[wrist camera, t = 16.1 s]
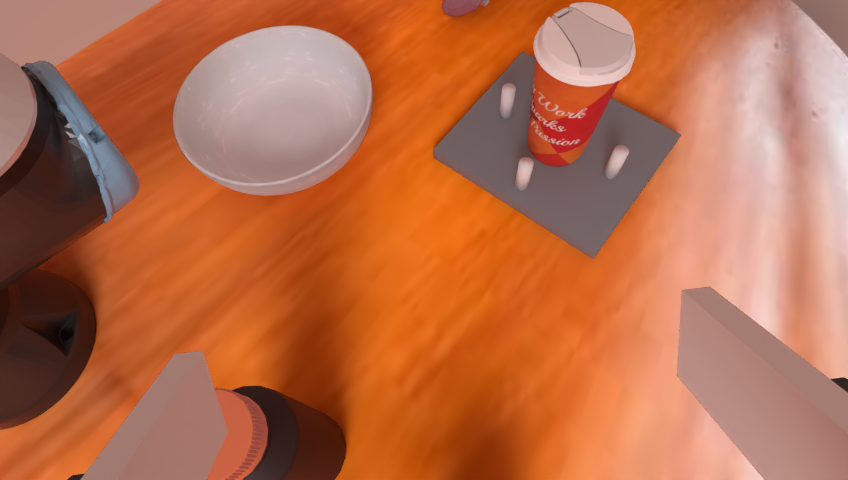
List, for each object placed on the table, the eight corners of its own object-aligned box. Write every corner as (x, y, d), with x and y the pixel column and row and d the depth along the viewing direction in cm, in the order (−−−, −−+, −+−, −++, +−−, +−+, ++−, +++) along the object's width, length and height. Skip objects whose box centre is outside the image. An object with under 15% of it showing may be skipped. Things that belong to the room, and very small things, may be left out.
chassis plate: (433, 157, 57) (431, 126, 52) (521, 60, 62) (526, 24, 57) (593, 258, 51) (607, 235, 46) (675, 142, 56) (697, 110, 51)
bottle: (267, 419, 46) (146, 382, 28) (342, 405, 47) (269, 359, 28) (271, 502, 44) (139, 521, 25) (351, 487, 44) (276, 494, 26)
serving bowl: (396, 74, 62) (389, 29, 56) (359, 229, 54) (346, 197, 48) (234, 60, 65) (210, 15, 59) (174, 206, 57) (139, 172, 50)
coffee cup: (500, 136, 56) (515, 26, 42) (560, 100, 57) (592, -17, 44) (551, 191, 53) (583, 92, 39) (612, 151, 54) (664, 42, 41)
